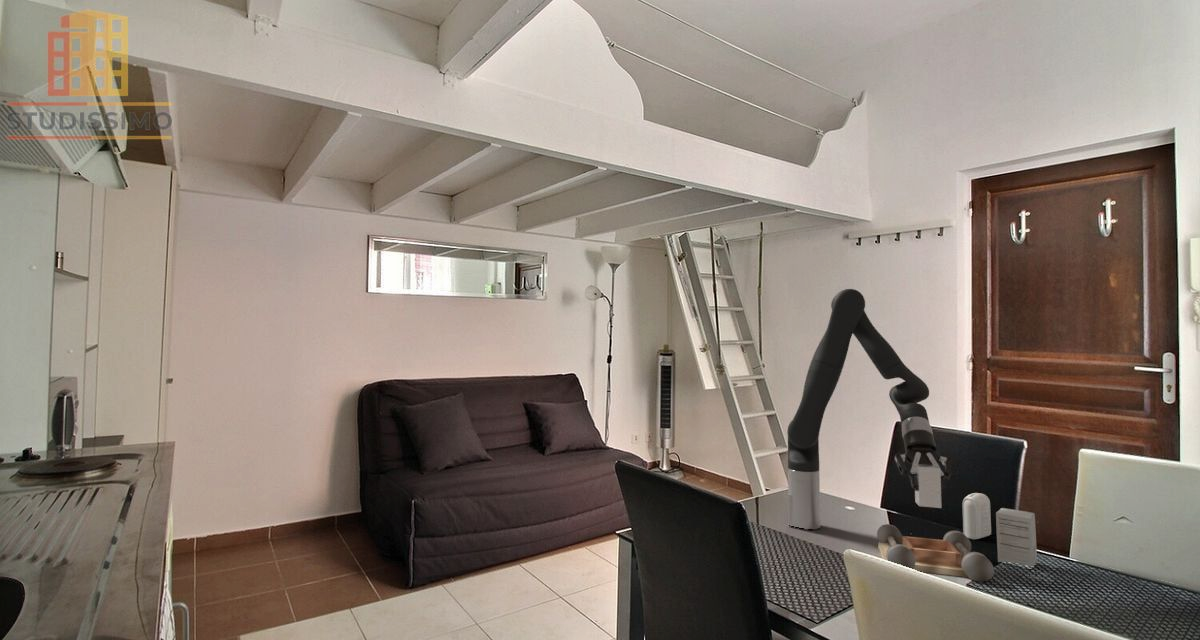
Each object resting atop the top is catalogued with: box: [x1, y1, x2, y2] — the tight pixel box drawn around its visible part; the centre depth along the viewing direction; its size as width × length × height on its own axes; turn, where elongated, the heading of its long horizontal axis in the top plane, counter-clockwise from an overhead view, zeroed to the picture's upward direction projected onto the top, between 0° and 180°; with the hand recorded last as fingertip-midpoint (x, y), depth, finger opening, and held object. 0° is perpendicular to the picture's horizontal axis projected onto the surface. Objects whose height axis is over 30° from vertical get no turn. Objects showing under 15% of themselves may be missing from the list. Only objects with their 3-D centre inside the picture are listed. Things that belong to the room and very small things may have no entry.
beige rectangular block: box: [914, 464, 943, 509], centre depth 147 cm, size 5×5×10 cm
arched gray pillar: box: [962, 492, 992, 540], centre depth 167 cm, size 10×4×12 cm, turn 123°
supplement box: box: [995, 507, 1038, 566], centre depth 145 cm, size 7×7×13 cm
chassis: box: [876, 523, 995, 583], centre depth 144 cm, size 22×21×6 cm
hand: (929, 489), depth 146 cm, fingers closed on beige rectangular block, 5 cm apart
